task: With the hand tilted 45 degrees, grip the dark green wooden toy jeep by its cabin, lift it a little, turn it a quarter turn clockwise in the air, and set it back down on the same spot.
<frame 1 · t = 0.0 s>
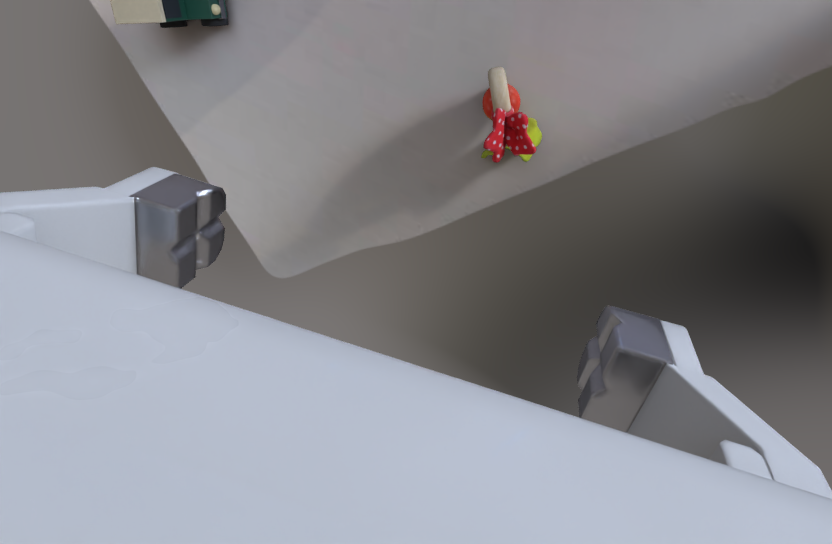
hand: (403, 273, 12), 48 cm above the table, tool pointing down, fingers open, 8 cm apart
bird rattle: (505, 110, 56), on the table
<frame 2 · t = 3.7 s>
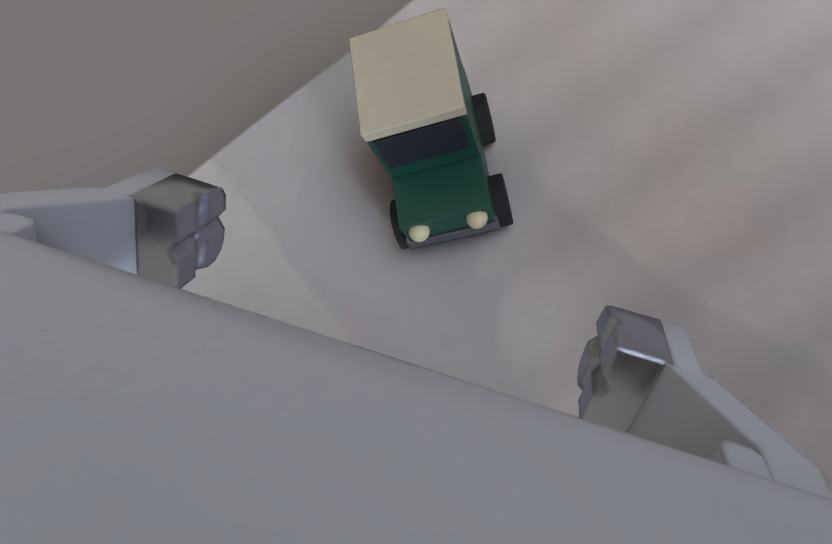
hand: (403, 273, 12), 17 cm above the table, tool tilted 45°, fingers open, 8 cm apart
toy jeep: (461, 249, 29), on the table
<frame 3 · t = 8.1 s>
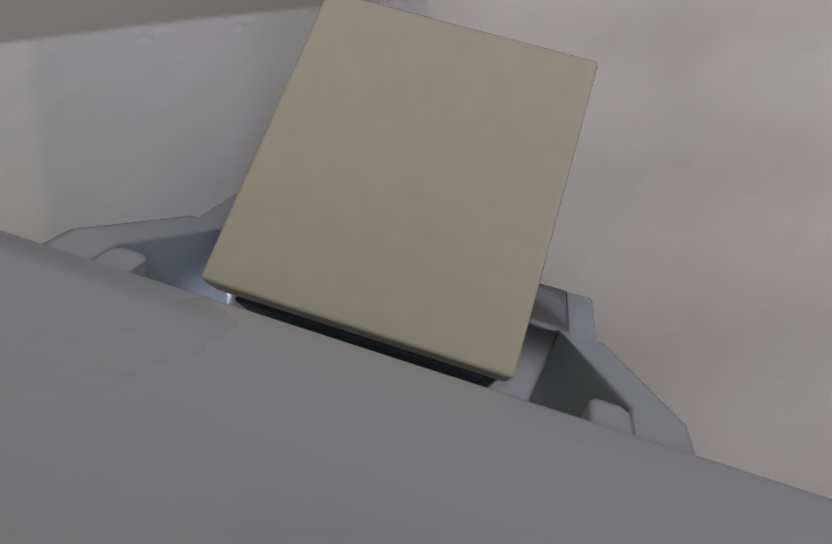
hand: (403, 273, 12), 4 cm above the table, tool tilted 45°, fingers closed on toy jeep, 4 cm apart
toy jeep: (353, 483, 15), on the table, touching gripper
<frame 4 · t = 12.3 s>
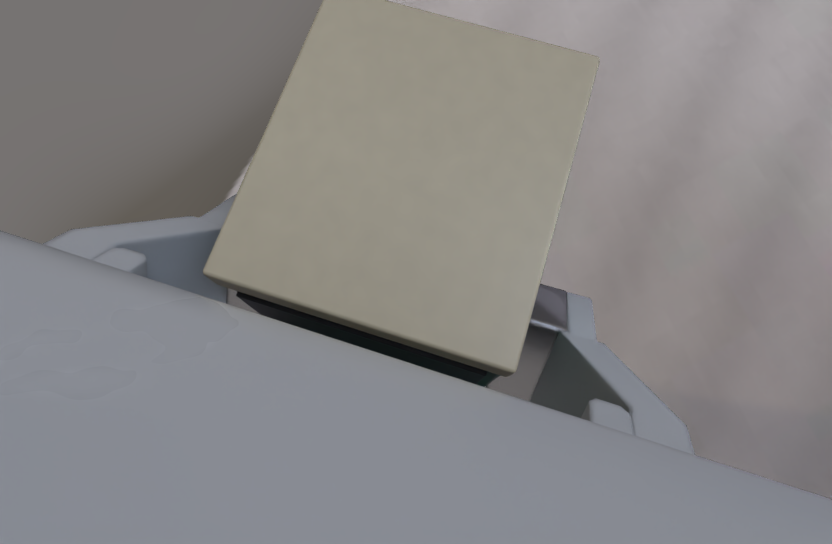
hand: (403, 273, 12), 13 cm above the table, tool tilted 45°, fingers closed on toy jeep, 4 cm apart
toy jeep: (353, 480, 15), point 9 cm above the table, touching gripper
when the fingers open (4 cm above the table, at t = 16.7 s): toy jeep stays where it is, on the table.
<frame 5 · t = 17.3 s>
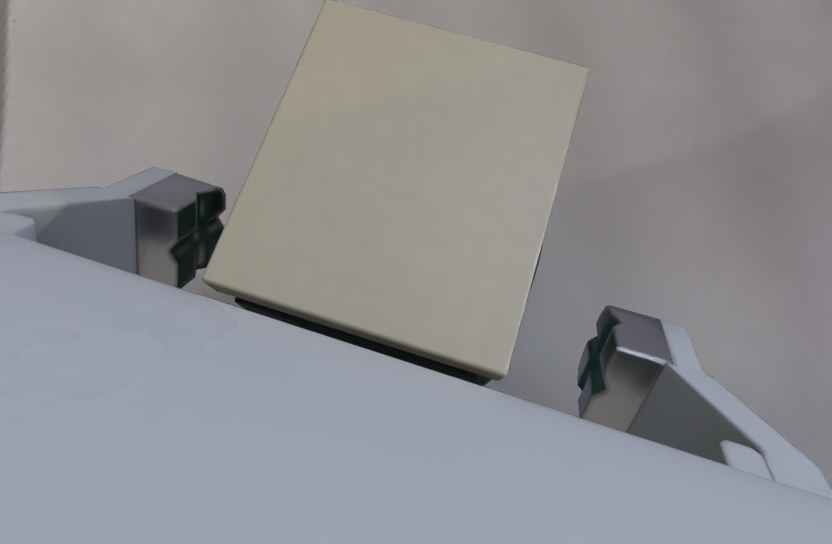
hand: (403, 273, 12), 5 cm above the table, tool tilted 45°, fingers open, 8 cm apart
toy jeep: (351, 481, 15), on the table
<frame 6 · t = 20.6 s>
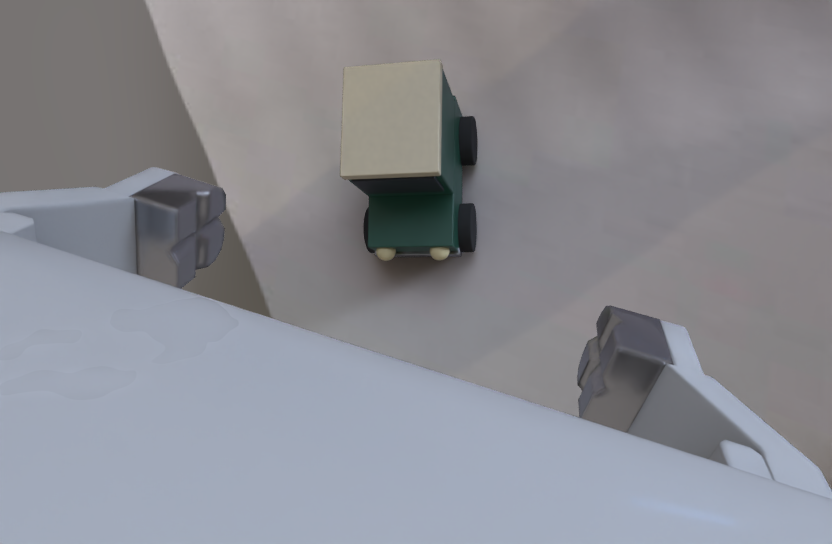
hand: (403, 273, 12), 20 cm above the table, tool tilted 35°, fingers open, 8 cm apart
toy jeep: (425, 260, 32), on the table
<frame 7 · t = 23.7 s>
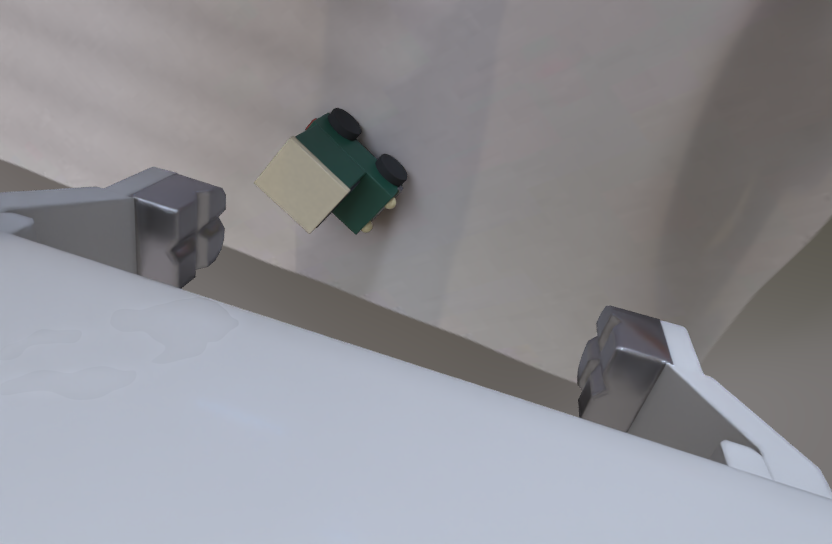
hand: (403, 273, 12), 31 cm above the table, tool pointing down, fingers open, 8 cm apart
toy jeep: (390, 200, 45), on the table
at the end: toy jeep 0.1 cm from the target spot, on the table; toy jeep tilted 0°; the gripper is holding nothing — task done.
